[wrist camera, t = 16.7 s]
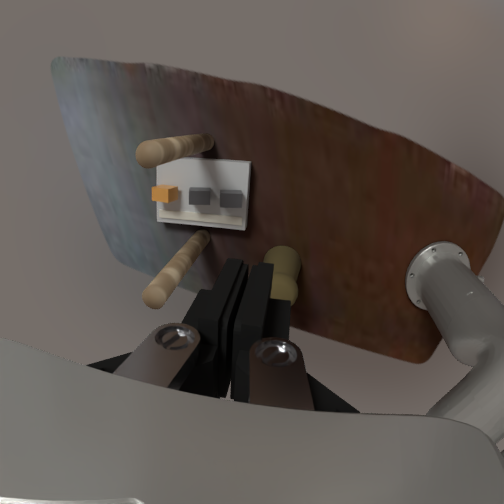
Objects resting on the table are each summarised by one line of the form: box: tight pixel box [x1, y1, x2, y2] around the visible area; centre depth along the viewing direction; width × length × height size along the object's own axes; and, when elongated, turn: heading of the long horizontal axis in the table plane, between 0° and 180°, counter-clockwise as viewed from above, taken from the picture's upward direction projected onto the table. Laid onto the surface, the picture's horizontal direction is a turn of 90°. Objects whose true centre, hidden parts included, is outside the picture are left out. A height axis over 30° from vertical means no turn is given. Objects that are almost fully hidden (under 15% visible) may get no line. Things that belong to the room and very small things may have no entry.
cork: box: [263, 246, 301, 306], centre depth 47 cm, size 6×6×11 cm
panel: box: [157, 157, 251, 230], centre depth 48 cm, size 14×10×2 cm
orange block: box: [152, 184, 178, 203], centre depth 46 cm, size 3×2×2 cm, turn 85°
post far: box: [142, 229, 210, 309], centre depth 42 cm, size 3×3×20 cm
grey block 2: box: [219, 190, 243, 208], centre depth 45 cm, size 3×2×2 cm, turn 87°
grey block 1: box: [189, 187, 211, 205], centre depth 45 cm, size 3×2×2 cm, turn 86°
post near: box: [136, 134, 214, 168], centre depth 37 cm, size 3×3×20 cm
